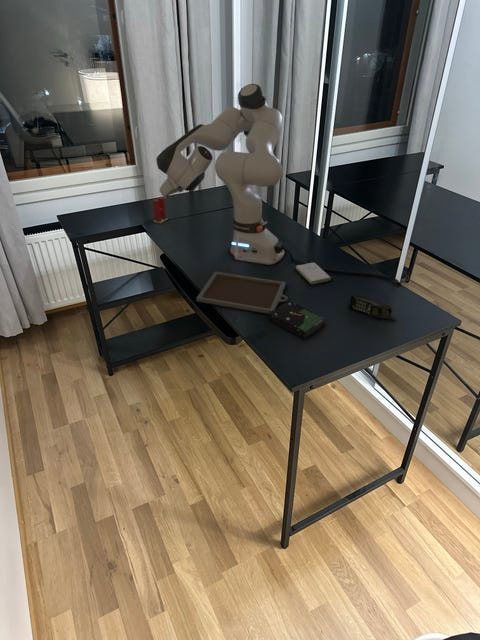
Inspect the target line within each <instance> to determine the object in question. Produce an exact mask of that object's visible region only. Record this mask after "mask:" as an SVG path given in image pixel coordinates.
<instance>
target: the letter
mask: <svg viewBox="0 0 480 640" xmlns="http://www.w3.org/2000/svg"><path fill="white" fill-rule="evenodd" d="M152 205H153V214H154V220H155V221H158V222H160V221H161V219H164V220H165V219H166V218H167V211H166V202H165V198H164V197H161V196H160V197H158V198H157V199H155V198H154V199H152Z"/></svg>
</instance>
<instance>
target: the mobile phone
mask: <svg viewBox="0 0 480 640" xmlns="http://www.w3.org/2000/svg"><path fill="white" fill-rule="evenodd" d="M349 301H350V302H349V308H350V309H352V310H355V311H358V312H361V313H364V314H367V315H369V316H371V317H374V318H377V319H382V320H383V319H384V320H387V319H390V320H394V321H395V319H396V318H395V317H392V312H393V311H392V307H391V306H390V305H387V304H386V303H384V302H380V301H378V300H374V299H371V298H368V297H365V296H362V295H358V294H353V295H351V296H350V299H349Z"/></svg>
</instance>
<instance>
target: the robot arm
mask: <svg viewBox="0 0 480 640" xmlns="http://www.w3.org/2000/svg"><path fill="white" fill-rule="evenodd" d="M237 102H238V105H239V108H240V109H239V108H237V107H234V106H230V107H228V108H225V109H224V110H223V111H222V112H221V113H219V115H217V117H216V118H215V119H213V121H212V122H210V123H208V124H202V123H200V124H197V125H195V126H194V127H193V128H191V129H190V130H188V131H187V132H186V133H184V134H183V135H182V136H180V137H179V138H178V139H176V140H175V141H174V142H172V143H171V144H169V145H168V146H167V147H164V148H163V149H161V150H160V152H159V153H158V154H157V157H156V160H155V161H156V165H157V169H158V170H159V171H161V172H162V173H163V174H165V175H166V176H167V177H166V179H165V180H164V181H163V183H162V184H161V185H160V187H159V193H160V194H161V195H162V198H164V199H167V198H168V197H170V195H173V194H175V193H178V192H179V193H182V192H183V191H186V192H189V191H194V190H196V188H198V186H199V185H200V183H202V181H204V179H205V174H206V171H207V170H208V168H209V167H210V165H211V163H212V161H213V159H214V157H213V154H212V153H211V151H210V150H212V151H217V152H218V151H219V152H221V151H224V150H226V149H228V148H229V147H230V145H232V144H233V142H234V141H235V140H236V138H237V137H238V136H239V135H240V134H241V133H243V135H244V136H245V138H246V139H245V148H246V150H247V152H241V151H226V152H221V153H220V154H219V155H218V156H217V158H216V160H215V164H214V170H215V173H216V175H217V177H218V178H219V180H221V181H222V182H223V183H224V185H225V186H226V187H227V189H228V190H229V192H230V195H231V198H232V204H233V218H232V230H233V234H232V240H231V246H230V251H229V252H230V253H231V254H232V256H233V258H234V260H235V261H241V262H249V263H255V264H262V265H268V266H269V265H274V264H276V263H278V262H280V261H281V260H282V259H283V257H284V256H285V252H286V253H287V254H289V257H290V260H291V261H292V262H293V263H297V264H298V265H303V264H308V262H302V261H299V260H296V259H295V258H294V257H293V254H292V252H291V251H290V250H289V249H287V248H285V247H284V246H285V245H284V244H285V243H284V242H281V241H279V239H278V237H277V236H275V234H274V233H272V232H271V231H270V230H269V229H268V228H267V226H266V225H268V220H266V221H264V219H263V200H262V197H261V196H260V195H259V194H258V193H257V192H256V191H254V190H253V188H252V187H251V186H255V187H264V188H265V187H274V186H276V185H277V184H278V183H280V181H281V179H282V177H283V171H284V169H283V165H282V162H281V161H280V159H279V158H277V157H276V155H275V153H274V150H275V147H276V145H277V142H278V140H279V138H280V134H281V131H282V127H283V122H284V121H283V116H282V113H281V112H280V111H279V110H278V109H276V108H274V107H269V104H268V101H267V98H266V94H265V92H264V90H263V89H262V87H261V86H260V85H259V84H256V83H250V84H246V85H244V86H243V87H242V88H241V89H240V90H239V92H238V94H237ZM192 144H198V146H196V147H195V148H194V149H193V150H192V151H191V152H190V153H189V154H188V156H187V157H185V155H183V154H182V152H183V151H185V149H186V148H188V147H189V146H190V145H192ZM208 149H210V150H208ZM319 267H320V268H321V269H322V270H323V271H327V272H332V273H333V272H334V273H341V274H352V275H353V274H354V275H364V276H373V277H378V278H383V279H387V280H392V281H394V282H396V283H397V285H398V286H402V283H401V282H400V281H399V280H398V279H397V278H395V277H392V276H387V275H383V274H378V273H371V272H362V271H349V270H342V269H341V270H340V269H332V268H326V267H322V266H319Z"/></svg>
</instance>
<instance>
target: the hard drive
mask: <svg viewBox="0 0 480 640" xmlns="http://www.w3.org/2000/svg"><path fill="white" fill-rule="evenodd" d="M307 263H308V262H307ZM320 267H321V266H319V265H318V264H317V263H316V262H310V263H308V264H298V265H295V270H296V271H297V272H298V273H299V274H300V275H301V276H302V277H303V278H304V279H305V280H306V281H307V282H308V283H309V285H317V284H321V283H327V282H330V281H331V280H332V277H331V276H330V275H329V274H328V273H327V272H325V270H322V269H321V268H320Z"/></svg>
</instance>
